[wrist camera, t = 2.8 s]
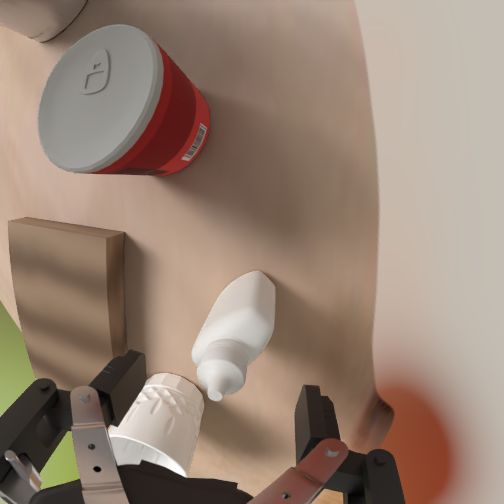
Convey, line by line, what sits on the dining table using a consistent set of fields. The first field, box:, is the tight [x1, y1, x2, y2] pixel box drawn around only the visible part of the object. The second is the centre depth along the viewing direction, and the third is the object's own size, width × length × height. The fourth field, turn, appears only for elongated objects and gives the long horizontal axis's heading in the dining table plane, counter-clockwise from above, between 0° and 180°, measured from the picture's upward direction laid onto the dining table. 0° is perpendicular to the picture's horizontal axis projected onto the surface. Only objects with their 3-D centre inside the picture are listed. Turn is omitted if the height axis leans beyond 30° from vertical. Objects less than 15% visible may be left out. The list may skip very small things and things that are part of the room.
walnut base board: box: [8, 217, 128, 391], centre depth 24 cm, size 20×14×3 cm
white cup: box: [108, 373, 205, 478], centre depth 22 cm, size 8×8×10 cm
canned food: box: [38, 24, 210, 176], centre depth 15 cm, size 8×8×11 cm
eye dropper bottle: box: [191, 271, 275, 401], centre depth 17 cm, size 4×6×12 cm
